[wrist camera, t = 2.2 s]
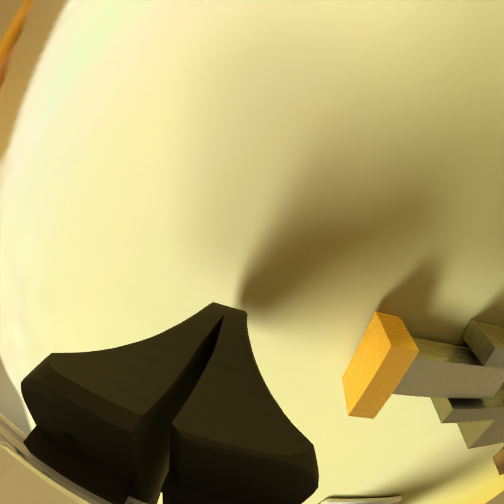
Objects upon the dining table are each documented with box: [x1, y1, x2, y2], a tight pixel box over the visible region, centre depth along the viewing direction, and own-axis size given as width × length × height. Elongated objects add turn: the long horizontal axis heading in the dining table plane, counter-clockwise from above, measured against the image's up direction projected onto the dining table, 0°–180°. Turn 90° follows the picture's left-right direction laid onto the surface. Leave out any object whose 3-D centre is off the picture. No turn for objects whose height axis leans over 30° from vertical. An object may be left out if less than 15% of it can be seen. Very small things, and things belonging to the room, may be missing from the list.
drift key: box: [342, 311, 504, 418], centre depth 10 cm, size 4×9×2 cm, turn 77°
